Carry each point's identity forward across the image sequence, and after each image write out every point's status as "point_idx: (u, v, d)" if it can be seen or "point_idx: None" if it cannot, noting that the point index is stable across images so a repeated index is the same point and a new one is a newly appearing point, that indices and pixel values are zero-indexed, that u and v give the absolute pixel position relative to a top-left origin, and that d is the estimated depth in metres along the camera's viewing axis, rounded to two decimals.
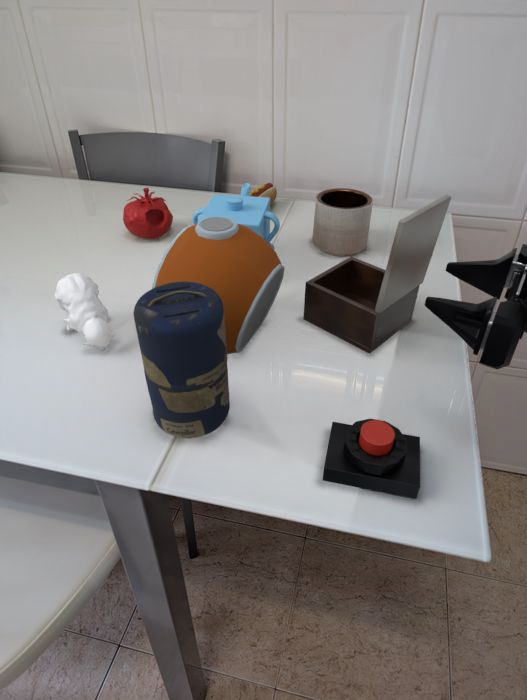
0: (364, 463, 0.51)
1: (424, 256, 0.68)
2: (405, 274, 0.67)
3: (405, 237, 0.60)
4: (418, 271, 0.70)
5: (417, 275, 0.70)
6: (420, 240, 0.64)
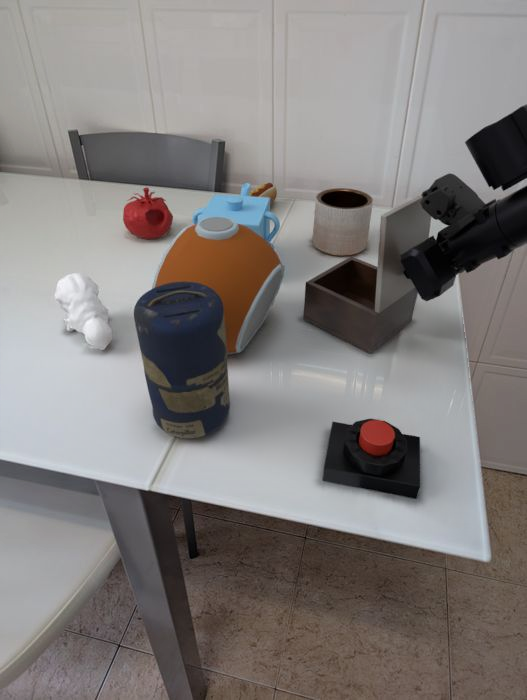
0: (364, 463, 0.51)
1: None
2: (400, 271, 0.67)
3: (391, 231, 0.61)
4: None
5: None
6: (409, 236, 0.65)
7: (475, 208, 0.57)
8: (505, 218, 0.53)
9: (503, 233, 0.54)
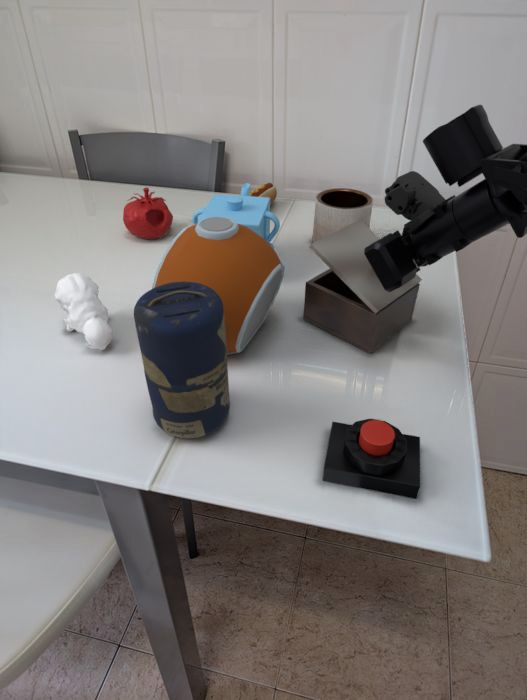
0: (364, 463, 0.51)
1: None
2: (374, 276, 0.70)
3: (328, 251, 0.70)
4: None
5: None
6: (358, 250, 0.72)
7: (435, 204, 0.60)
8: (460, 212, 0.56)
9: (459, 227, 0.57)
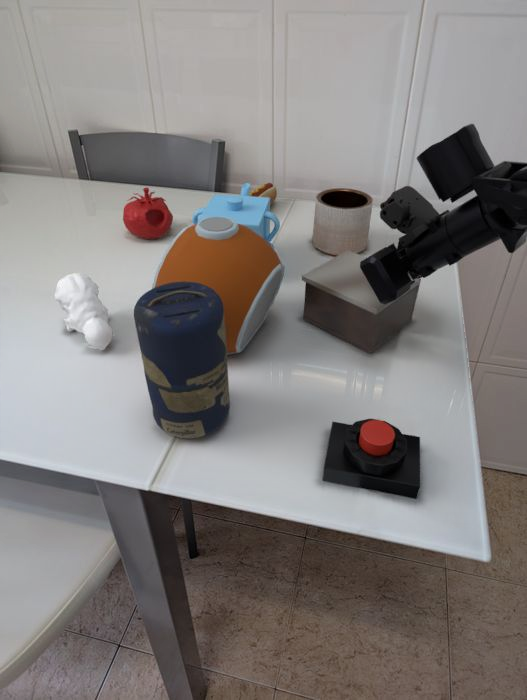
0: (364, 463, 0.51)
1: None
2: (369, 285, 0.72)
3: (319, 277, 0.74)
4: None
5: None
6: (349, 271, 0.75)
7: (429, 218, 0.61)
8: (453, 228, 0.57)
9: (452, 242, 0.58)
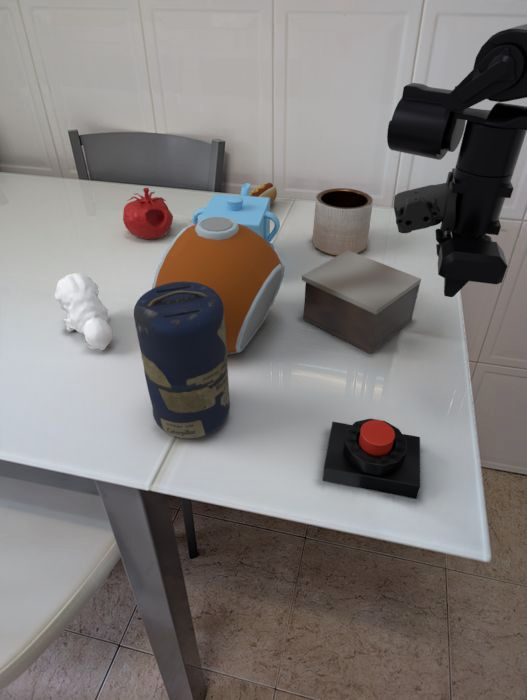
0: (364, 463, 0.51)
1: (381, 272, 0.75)
2: (369, 285, 0.72)
3: (319, 277, 0.74)
4: (392, 278, 0.73)
5: (395, 280, 0.73)
6: (349, 271, 0.75)
7: (445, 190, 0.54)
8: (469, 163, 0.50)
9: (491, 177, 0.50)
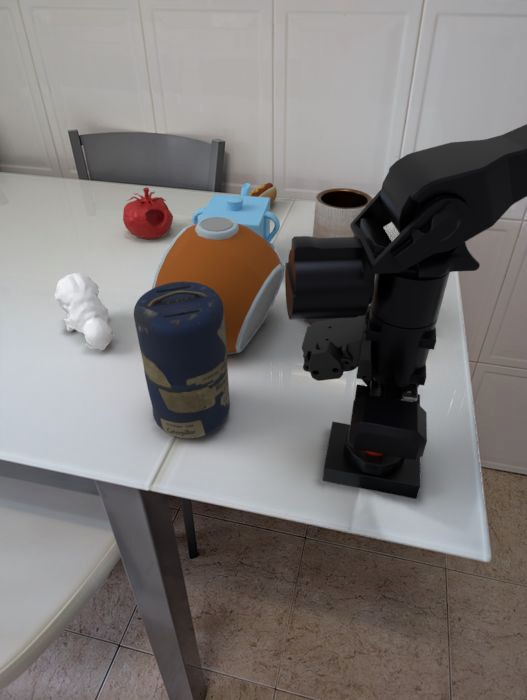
0: (364, 463, 0.51)
1: None
2: None
3: None
4: None
5: None
6: None
7: (361, 331, 0.45)
8: (404, 318, 0.40)
9: (409, 328, 0.41)
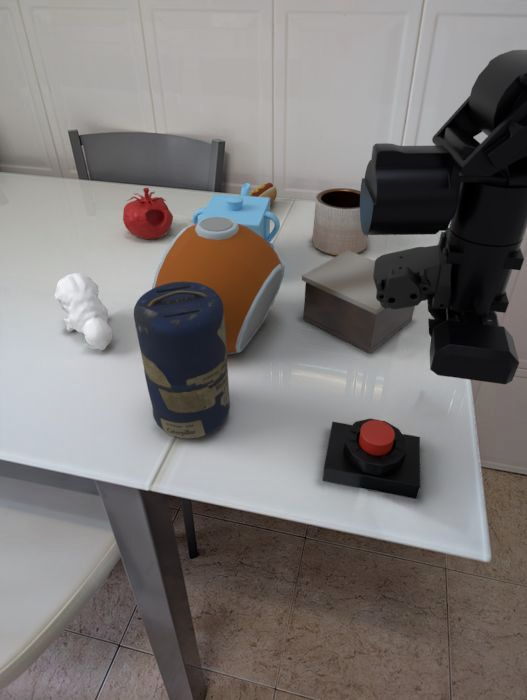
0: (364, 463, 0.51)
1: None
2: (369, 285, 0.72)
3: (319, 277, 0.74)
4: None
5: None
6: (349, 271, 0.75)
7: (437, 257, 0.43)
8: (489, 234, 0.38)
9: (495, 245, 0.39)
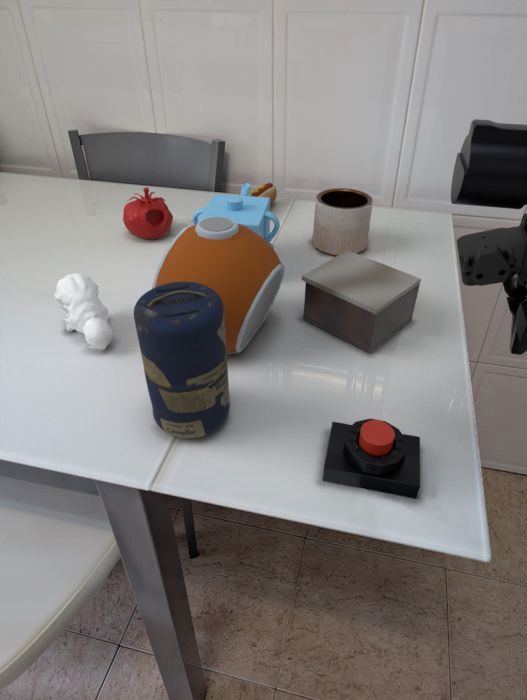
0: (364, 463, 0.51)
1: (381, 272, 0.75)
2: (369, 285, 0.72)
3: (319, 277, 0.74)
4: (392, 278, 0.73)
5: (395, 280, 0.73)
6: (349, 271, 0.75)
7: (522, 236, 0.45)
8: None
9: None
